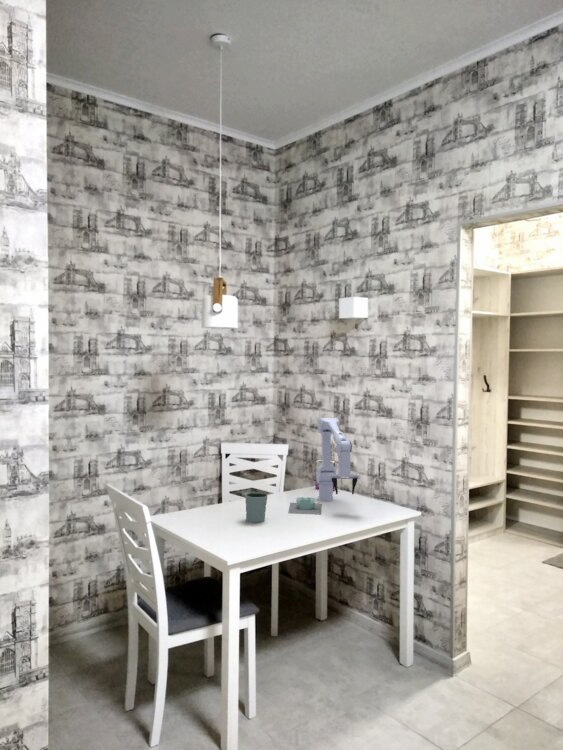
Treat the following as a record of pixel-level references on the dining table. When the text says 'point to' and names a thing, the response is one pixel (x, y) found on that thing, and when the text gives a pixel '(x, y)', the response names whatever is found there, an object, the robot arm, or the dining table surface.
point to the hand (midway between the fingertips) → (344, 494)
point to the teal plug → (306, 503)
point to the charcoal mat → (304, 510)
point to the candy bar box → (319, 463)
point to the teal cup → (255, 507)
